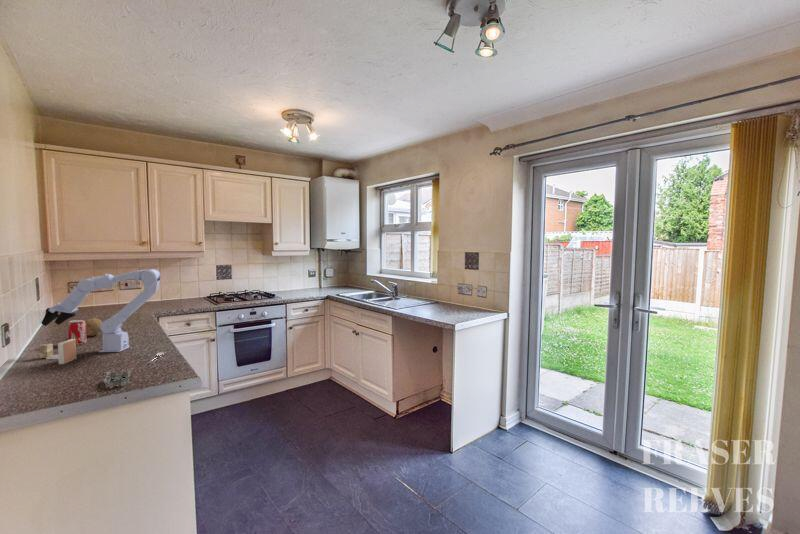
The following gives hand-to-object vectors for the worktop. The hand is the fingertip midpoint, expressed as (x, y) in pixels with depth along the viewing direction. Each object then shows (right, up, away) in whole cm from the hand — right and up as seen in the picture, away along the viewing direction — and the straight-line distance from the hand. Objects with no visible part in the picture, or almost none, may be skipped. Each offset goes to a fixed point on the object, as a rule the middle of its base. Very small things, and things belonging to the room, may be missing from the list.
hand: (50, 323), depth 162 cm
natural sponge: (-9, -12, +34) cm, 37 cm away
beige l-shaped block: (+5, -15, -3) cm, 16 cm away
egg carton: (+55, -18, -30) cm, 65 cm away
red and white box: (-4, -13, +18) cm, 23 cm away
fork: (+51, -16, -7) cm, 54 cm away
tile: (+15, -15, -7) cm, 23 cm away
